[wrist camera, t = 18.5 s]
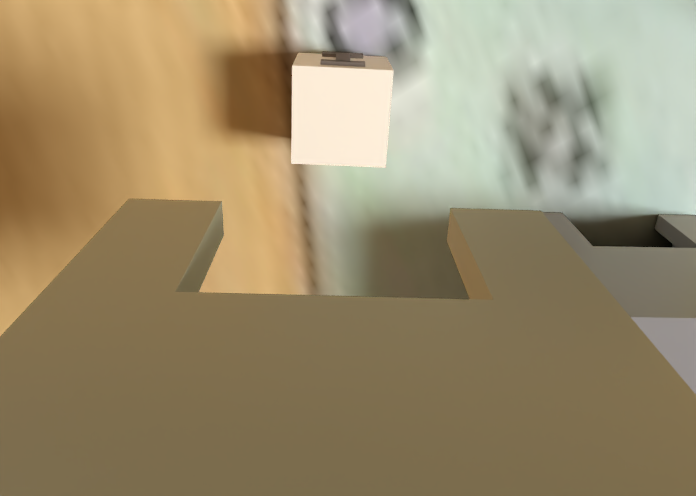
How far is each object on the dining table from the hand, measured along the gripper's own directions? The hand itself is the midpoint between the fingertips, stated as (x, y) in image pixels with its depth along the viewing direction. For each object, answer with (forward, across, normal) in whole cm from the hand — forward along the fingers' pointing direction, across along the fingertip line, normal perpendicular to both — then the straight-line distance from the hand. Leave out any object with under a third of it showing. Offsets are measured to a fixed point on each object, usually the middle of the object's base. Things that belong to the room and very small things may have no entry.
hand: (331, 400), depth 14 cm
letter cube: (+17, 0, -4) cm, 17 cm away
